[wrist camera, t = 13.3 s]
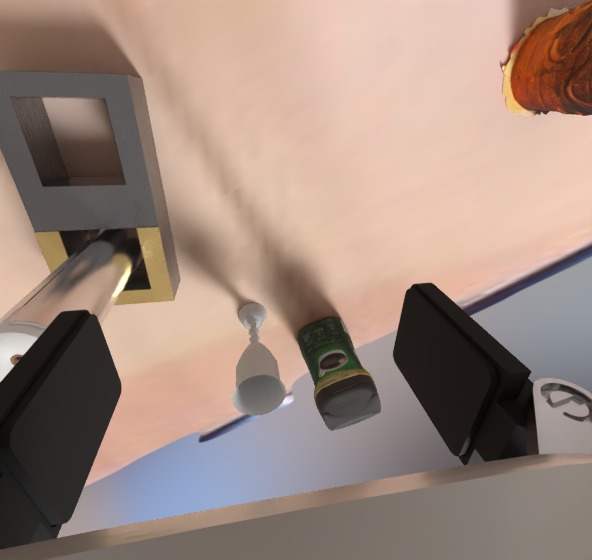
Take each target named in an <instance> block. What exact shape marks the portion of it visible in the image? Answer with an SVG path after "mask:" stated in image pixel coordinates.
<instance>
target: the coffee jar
mask: <svg viewBox="0 0 592 560" xmlns="http://www.w3.org/2000/svg"><path fill="white" fill-rule="evenodd" d="M298 344H299V347H300V350H301V353H302V355H303V358H304V360H305V362H306V364H307V366H308V369H309V371H310V373H311V376H312V379H313V381H314V385H315V391H314V399H315V403H316V406H317V408H318V410H319V412H320V415H321V416H322V418H323V420H324V422H325V424H326V425H327V427H328V428H329V429H330V430H332V431H333V430H337V429H341V428H344V427H347V426H350V425H352V424H355V423H358V422H360V421H363V420H365V419H368V418H370V417H372V416H374V415H376V414H377V413H380V411H381V404H380V400H379V396H378V393H377V389H376V385H375V382H374V380H373V378H372V376H371V375H370V374H369V373H368V372H367V371H366V370H365V369H364V368H363V367H362V365H361V363H360V361H359V359H358V357H357V355H356V352H355V349H354V346H353V344H352V341H351V338H350V335H349V333H348V330H347V328H346V326H345V324H344V323H343V321H342V320H340V319H339V318H335V317H333V318H327V319H324V320H320V321H318V322H315V323H313V324H310V325H308V326H306V327H305V328H303V329H302V330H301V331H300V332H299V334H298Z"/></svg>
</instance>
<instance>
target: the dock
mask: <svg viewBox="0 0 592 560" xmlns="http://www.w3.org/2000/svg"><path fill="white" fill-rule="evenodd" d="M42 98H85V99H105V100H106V104H107V108H108V112H109V116H110V120H111V124H112V128H113V132H114V136H115V141H116V145H117V149H118V153H119V157H120V161H121V165H122V169H123V173H124V176H79V177H67V174H66V171H65V168H64V164H63V161H62V158H61V155H60V152H59V149H58V146H57V143H56V140H55V137H54V134H53V131H52V128H51V125H50V122H49V119H48V116H47V113H46V110H45V107H44V104H43V101H42ZM0 148H1V150H2V153H3V155H4V158H5V160H6V162H7V165H8V167H9V170H10V172H11V175H12V177H13V179H14V182H15V184H16V187H17V189H18V192H19V194H20V196H21V199H22V201H23V204H24V206H25V209H26V211H27V213H28V216H29V218H30V221H31V223H32V226H33V228H34V230H35V232H34V233H35V236H36V238H37V241H38V243H39V245H40V248H41V250H42V253H43V255H44V257H45V260H46V262H47V265H48V267H49V270H50V272H51V273H52V272H53V271H55V270H56V269H57V268H58V267H59V266H60V265H61V264H62V263H64V262H65V261H66V260H67V259H68V258H69V257H70V256H71V255H73V254H74V253H75V252H76V251H77V250H78V249H79V248H80V247H81V246H83V245H84V244H85V243H86V242H87V241H88V237H87V234H86V231H85V230H93V229H117V228H136V229H137V233H138V237H139V241H140V245H141V249H142V253H143V257H144V261H145V265H146V269H147V270H138V271H135V272H134V273H133V275H132V276H131V278H130V280H129V281H128V283H127V284H126V286H125V288H124V289H123V291H122V292H121V294H120V296H119V297H118V299H117V300H116V302H115V304H114V305H123V304H136V303H149V302H162V301H174V298H175V295H176V292H177V289H178V286H179V283H180V275H179V270H178V265H177V259H176V254H175V249H174V244H173V238H172V233H171V228H170V223H169V217H168V212H167V207H166V202H165V196H164V191H163V186H162V180H161V175H160V170H159V165H158V159H157V154H156V149H155V144H154V138H153V133H152V128H151V123H150V117H149V112H148V107H147V102H146V96H145V91H144V86H143V81H142V79H141V78H138V77H134V76H131V75H128V74H99V73H64V72H28V71H0Z"/></svg>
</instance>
